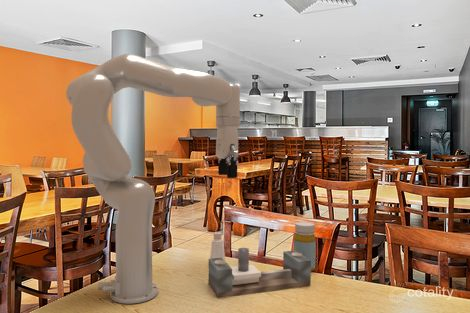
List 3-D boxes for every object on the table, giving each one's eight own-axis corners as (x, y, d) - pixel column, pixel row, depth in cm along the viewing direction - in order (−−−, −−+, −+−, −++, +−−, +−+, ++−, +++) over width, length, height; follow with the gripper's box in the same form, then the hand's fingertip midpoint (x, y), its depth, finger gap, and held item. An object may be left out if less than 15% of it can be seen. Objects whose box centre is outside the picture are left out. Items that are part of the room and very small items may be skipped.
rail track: (217, 298, 101) (217, 268, 101) (208, 284, 111) (208, 256, 110) (310, 285, 110) (311, 258, 110) (294, 273, 120) (294, 248, 119)
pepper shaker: (209, 262, 130) (209, 230, 129) (225, 262, 130) (225, 230, 130) (209, 267, 124) (209, 234, 124) (225, 267, 125) (226, 234, 124)
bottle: (316, 273, 120) (317, 226, 120) (294, 272, 121) (295, 226, 120) (312, 265, 127) (313, 221, 127) (291, 265, 128) (292, 221, 127)
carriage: (233, 287, 104) (234, 254, 104) (226, 278, 111) (226, 247, 110) (260, 283, 107) (261, 251, 106) (251, 275, 113) (252, 244, 113)
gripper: (209, 123, 128) (209, 173, 129) (224, 122, 112) (223, 179, 113) (230, 124, 131) (230, 173, 132) (248, 122, 114) (247, 178, 115)
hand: (227, 176), depth 122 cm, fingers open, 9 cm apart
